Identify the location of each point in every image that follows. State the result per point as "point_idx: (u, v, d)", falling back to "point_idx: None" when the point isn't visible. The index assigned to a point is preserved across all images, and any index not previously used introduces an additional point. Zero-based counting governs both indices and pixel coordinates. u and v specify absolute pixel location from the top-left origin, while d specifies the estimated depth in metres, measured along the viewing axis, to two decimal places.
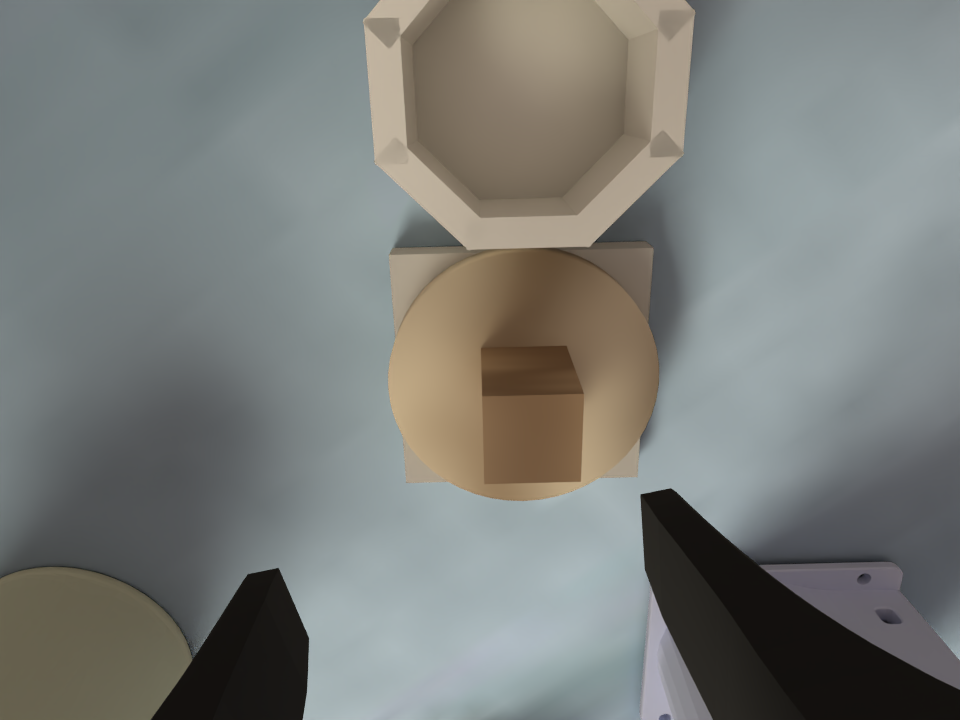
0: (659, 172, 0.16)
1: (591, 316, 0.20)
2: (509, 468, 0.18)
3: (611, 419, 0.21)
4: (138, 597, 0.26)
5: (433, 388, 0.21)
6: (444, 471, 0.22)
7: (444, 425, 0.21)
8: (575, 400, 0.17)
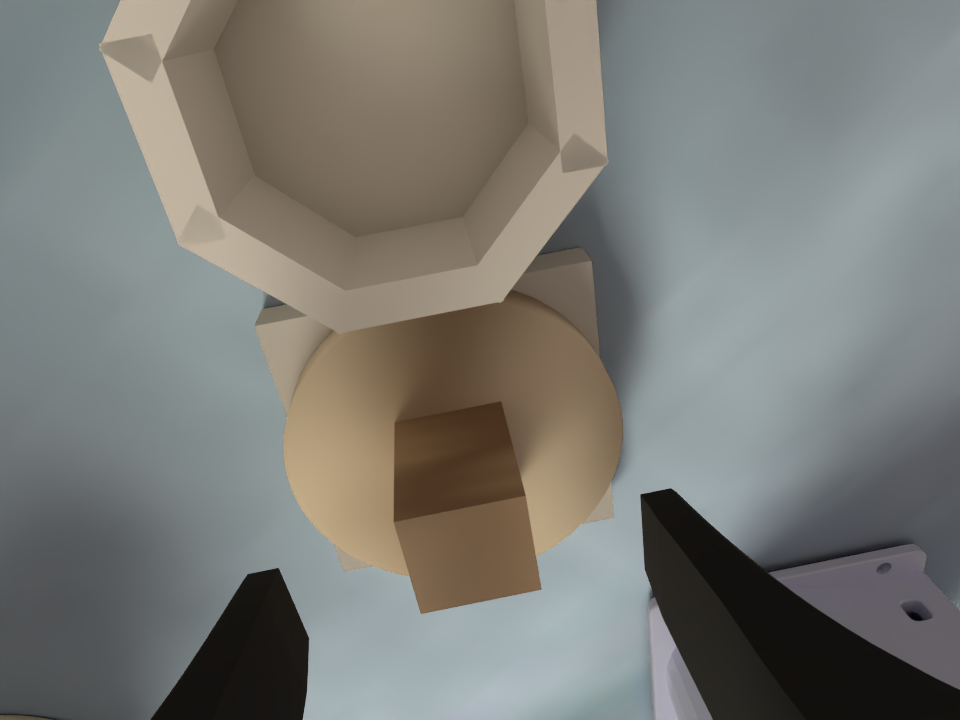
0: (579, 190, 0.12)
1: (526, 362, 0.16)
2: (448, 592, 0.14)
3: (572, 471, 0.17)
4: None
5: (346, 477, 0.16)
6: (382, 562, 0.18)
7: (370, 514, 0.17)
8: (516, 504, 0.13)
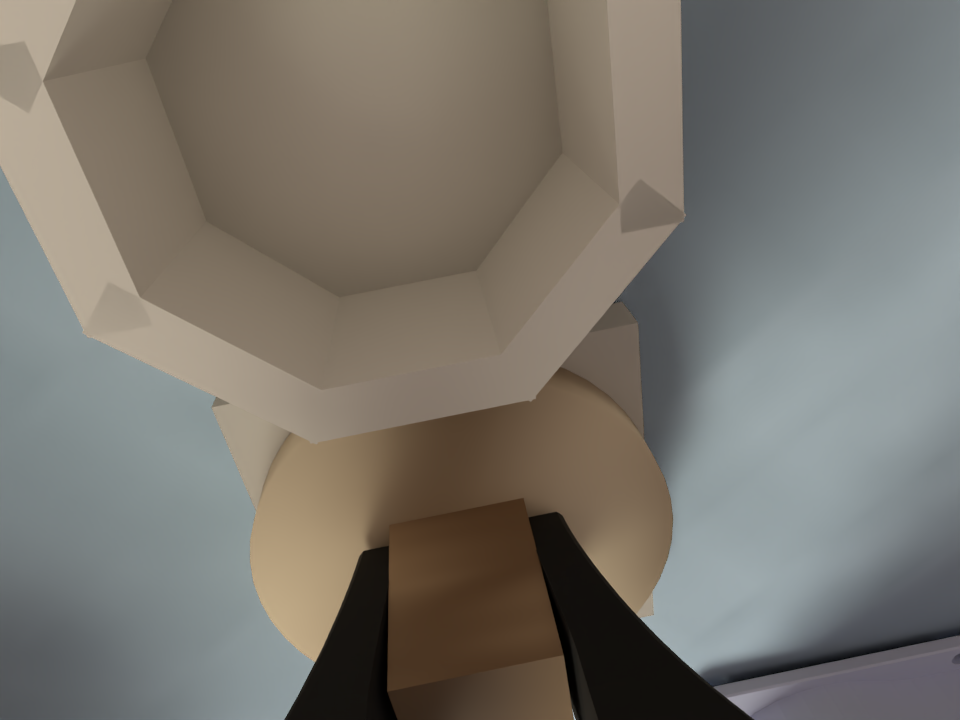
0: (643, 256, 0.08)
1: (555, 452, 0.12)
2: None
3: (608, 575, 0.14)
4: None
5: (329, 588, 0.13)
6: None
7: None
8: (551, 666, 0.10)
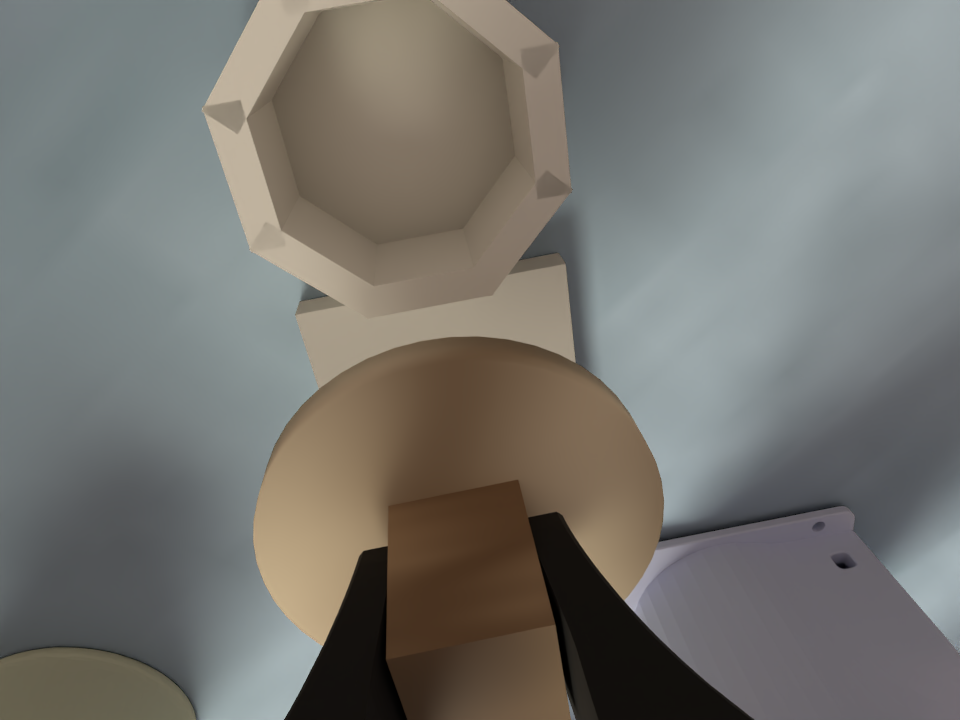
0: (550, 212, 0.16)
1: (549, 434, 0.13)
2: None
3: (602, 556, 0.14)
4: (123, 663, 0.26)
5: (330, 568, 0.14)
6: None
7: None
8: (543, 635, 0.10)
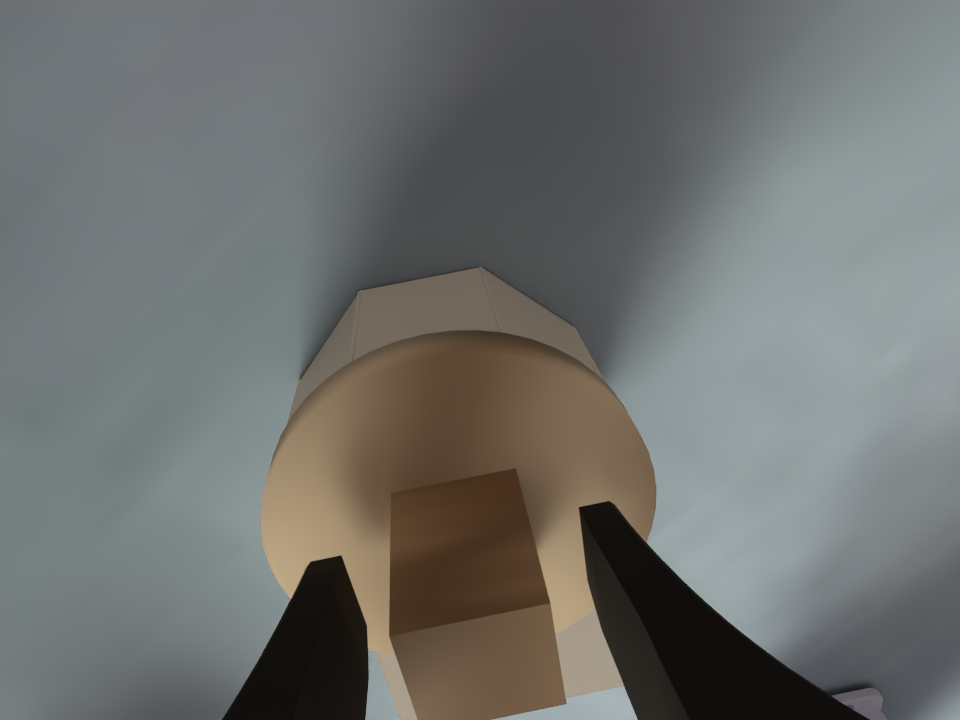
0: None
1: (545, 425, 0.13)
2: (455, 709, 0.12)
3: None
4: None
5: (334, 554, 0.14)
6: (377, 644, 0.16)
7: (363, 593, 0.15)
8: (538, 613, 0.11)
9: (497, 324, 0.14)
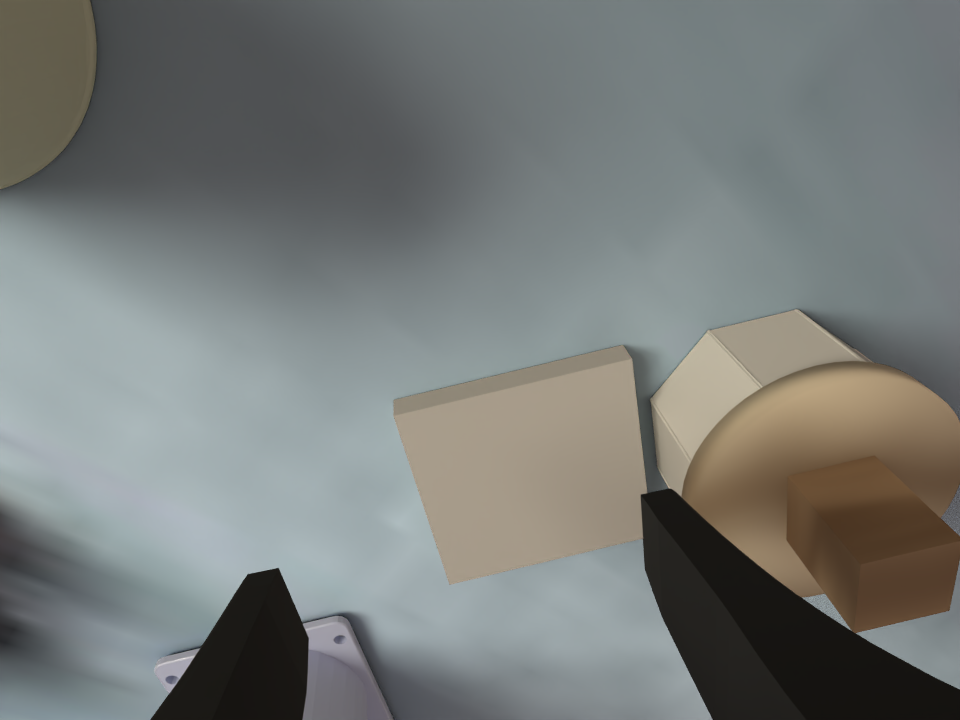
0: None
1: None
2: (876, 579, 0.17)
3: (787, 573, 0.21)
4: (82, 111, 0.17)
5: (833, 424, 0.19)
6: (730, 454, 0.19)
7: (788, 443, 0.19)
8: (943, 607, 0.18)
9: None
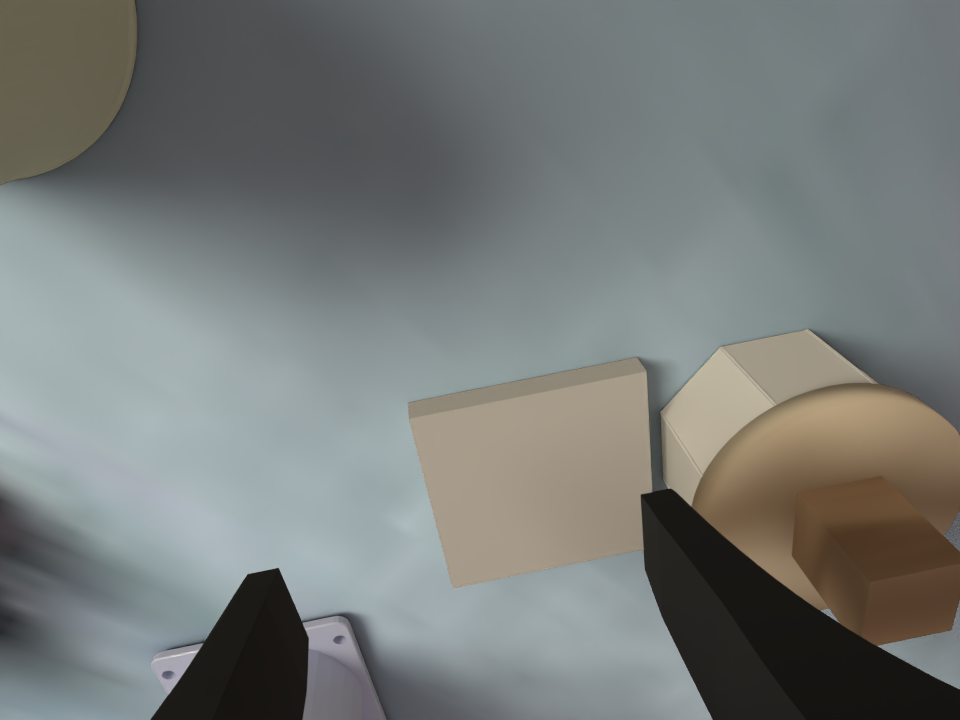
0: None
1: None
2: (884, 597, 0.17)
3: (790, 587, 0.22)
4: (119, 103, 0.17)
5: (844, 444, 0.19)
6: (743, 470, 0.19)
7: (799, 460, 0.19)
8: (946, 626, 0.18)
9: None
